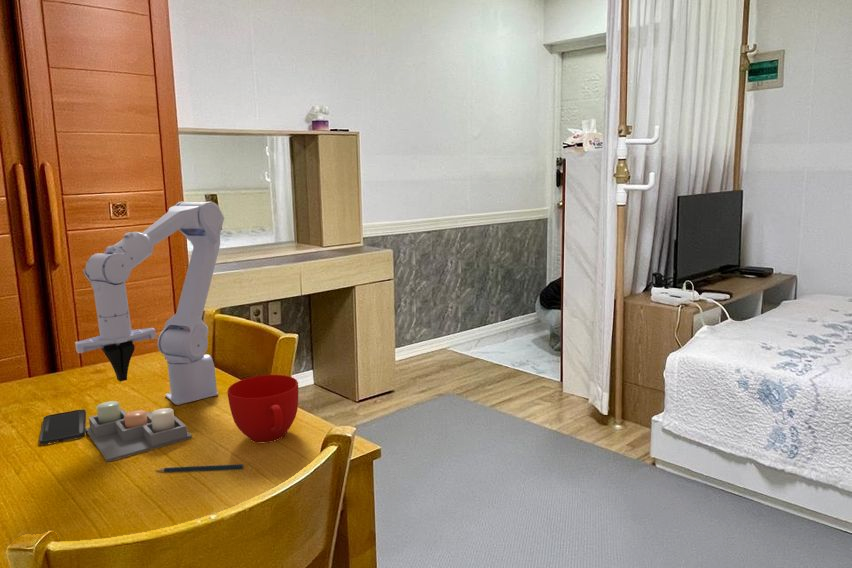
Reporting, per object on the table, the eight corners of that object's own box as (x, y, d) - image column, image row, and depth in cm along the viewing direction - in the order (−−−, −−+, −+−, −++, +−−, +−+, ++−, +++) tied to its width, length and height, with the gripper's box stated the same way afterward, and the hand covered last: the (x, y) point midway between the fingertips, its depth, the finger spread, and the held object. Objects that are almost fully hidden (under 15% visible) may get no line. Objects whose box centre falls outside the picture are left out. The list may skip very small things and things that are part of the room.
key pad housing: (163, 410, 139) (161, 399, 139) (192, 438, 125) (190, 425, 125) (85, 430, 130) (83, 418, 130) (107, 462, 116) (105, 448, 116)
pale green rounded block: (118, 415, 133) (116, 399, 132) (123, 420, 129) (121, 405, 129) (96, 420, 130) (94, 404, 130) (101, 426, 127) (99, 410, 126)
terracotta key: (145, 424, 130) (143, 408, 130) (150, 430, 127) (148, 414, 127) (123, 429, 128) (121, 413, 127) (129, 436, 125) (127, 419, 124)
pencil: (242, 471, 112) (154, 474, 112) (244, 468, 113) (156, 471, 113) (242, 466, 112) (153, 469, 111) (243, 463, 113) (156, 467, 112)
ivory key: (171, 422, 128) (169, 406, 127) (178, 428, 125) (176, 412, 124) (150, 428, 125) (148, 411, 125) (156, 434, 122) (154, 418, 122)
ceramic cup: (245, 465, 113) (240, 410, 111) (226, 431, 128) (221, 382, 126) (317, 448, 119) (313, 395, 117) (291, 417, 134) (287, 370, 132)
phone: (85, 408, 141) (84, 433, 127) (86, 413, 141) (85, 438, 127) (43, 416, 137) (37, 442, 124) (44, 421, 137) (38, 447, 124)
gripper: (77, 324, 121) (87, 393, 124) (157, 310, 130) (165, 375, 133) (69, 318, 127) (79, 384, 129) (146, 305, 136) (154, 367, 138)
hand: (122, 379), depth 132 cm, fingers closed
